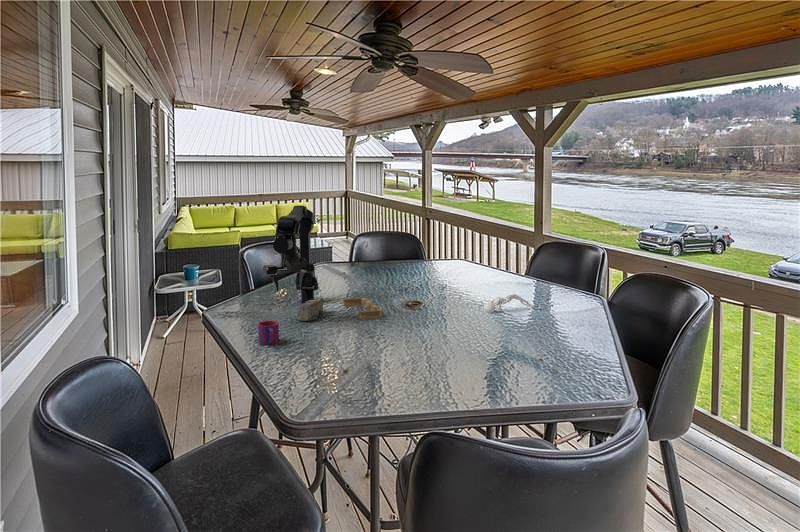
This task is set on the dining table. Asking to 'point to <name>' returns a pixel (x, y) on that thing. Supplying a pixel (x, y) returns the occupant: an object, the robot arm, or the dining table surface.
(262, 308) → the dining table surface
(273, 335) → the mug
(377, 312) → the wooden u-shaped handle
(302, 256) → the robot arm
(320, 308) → the rock
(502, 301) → the figurine
